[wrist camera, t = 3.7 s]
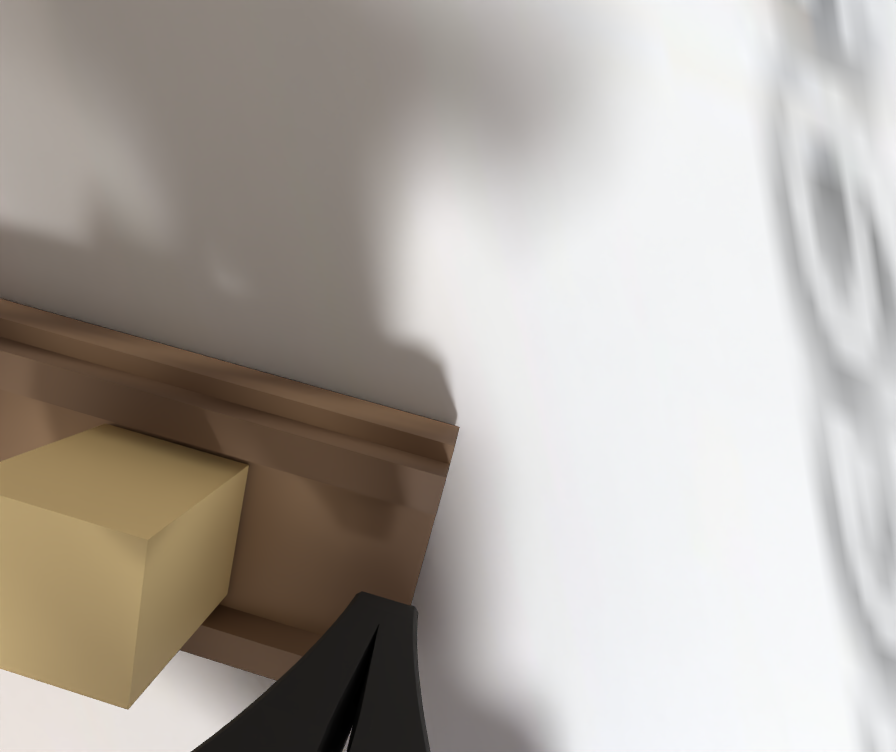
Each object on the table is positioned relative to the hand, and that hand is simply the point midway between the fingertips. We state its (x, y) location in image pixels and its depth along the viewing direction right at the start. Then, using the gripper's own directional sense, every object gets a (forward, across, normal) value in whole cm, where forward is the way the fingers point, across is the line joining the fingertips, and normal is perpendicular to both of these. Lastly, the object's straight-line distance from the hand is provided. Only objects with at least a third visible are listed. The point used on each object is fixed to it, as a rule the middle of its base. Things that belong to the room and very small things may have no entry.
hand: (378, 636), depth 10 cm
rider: (+2, +6, 0) cm, 7 cm away
